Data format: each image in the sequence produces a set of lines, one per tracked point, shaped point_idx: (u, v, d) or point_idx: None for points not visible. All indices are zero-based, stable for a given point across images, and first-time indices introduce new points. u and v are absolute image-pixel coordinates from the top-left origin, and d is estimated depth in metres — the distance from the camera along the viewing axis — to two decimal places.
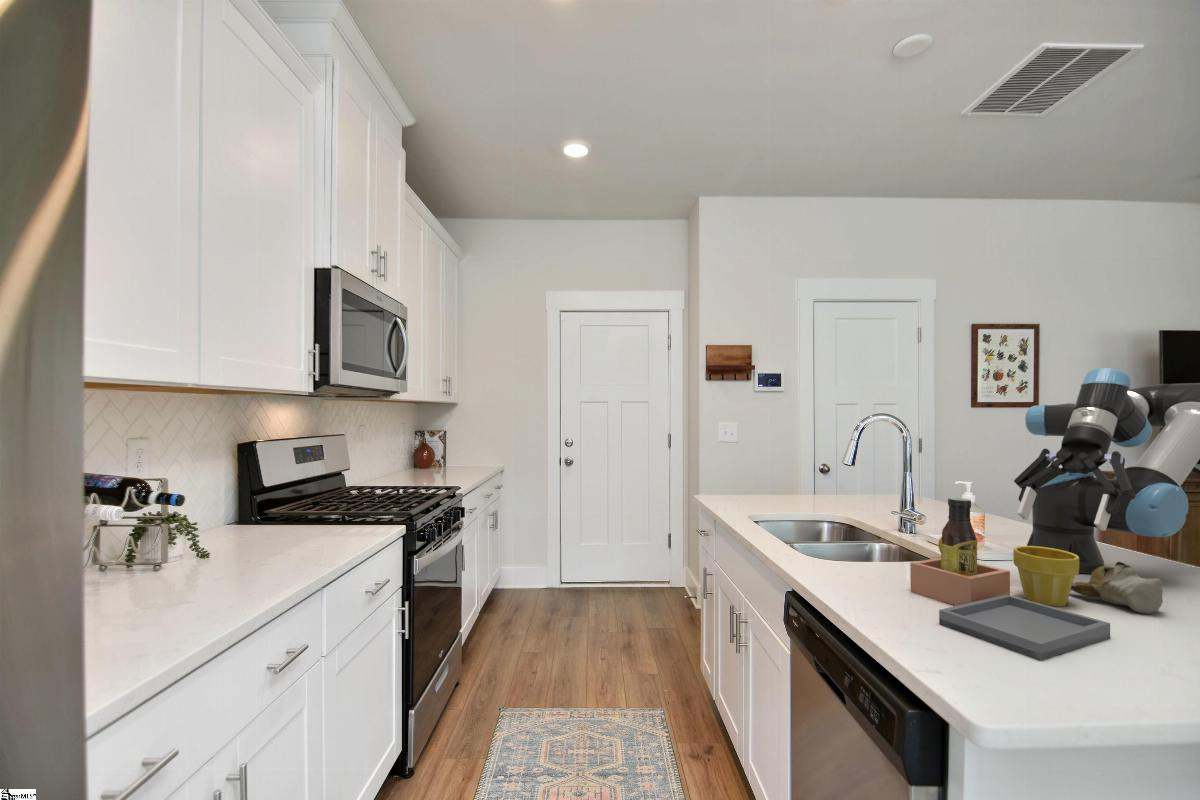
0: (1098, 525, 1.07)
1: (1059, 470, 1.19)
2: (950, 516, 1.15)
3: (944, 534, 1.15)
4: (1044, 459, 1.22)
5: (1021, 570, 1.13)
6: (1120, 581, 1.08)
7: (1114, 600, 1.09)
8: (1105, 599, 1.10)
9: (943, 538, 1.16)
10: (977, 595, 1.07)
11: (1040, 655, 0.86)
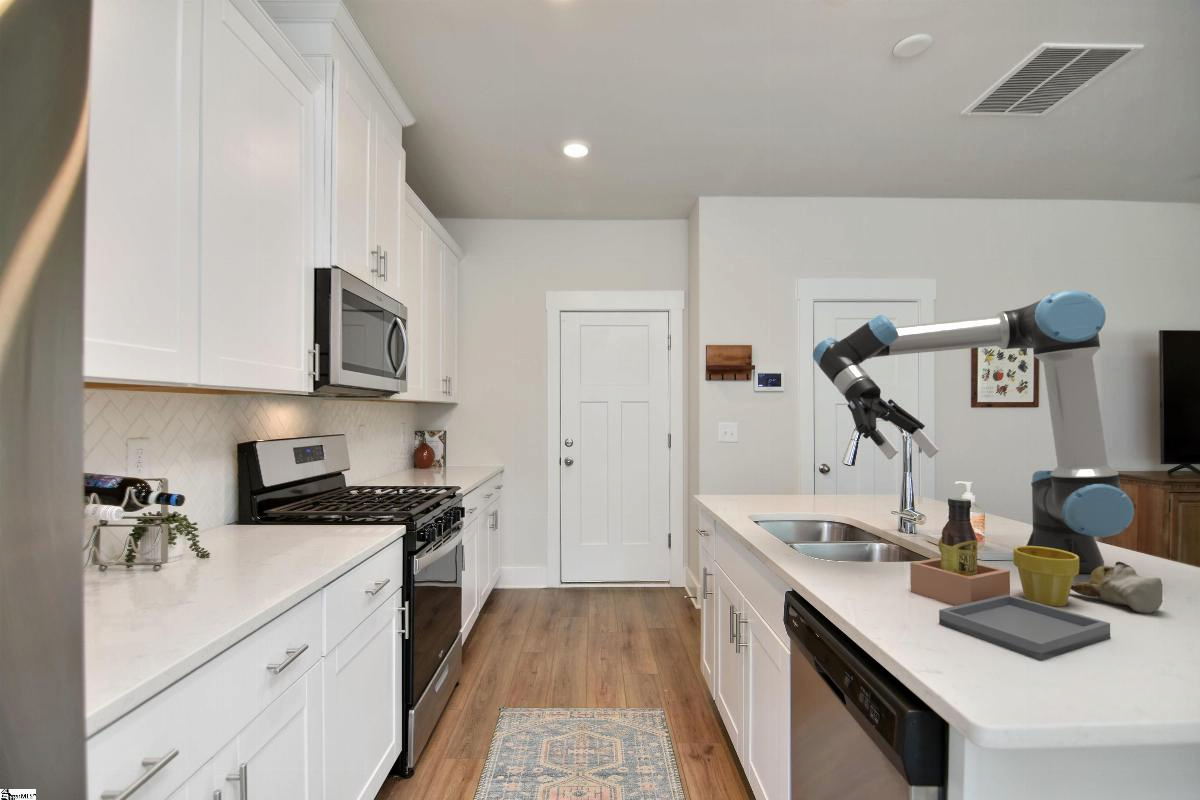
0: (891, 457, 1.22)
1: (890, 415, 1.33)
2: (950, 516, 1.15)
3: (944, 534, 1.15)
4: None
5: (1021, 570, 1.13)
6: (1120, 581, 1.08)
7: (1114, 600, 1.09)
8: (1105, 599, 1.11)
9: (943, 538, 1.16)
10: (977, 595, 1.07)
11: (1040, 655, 0.86)
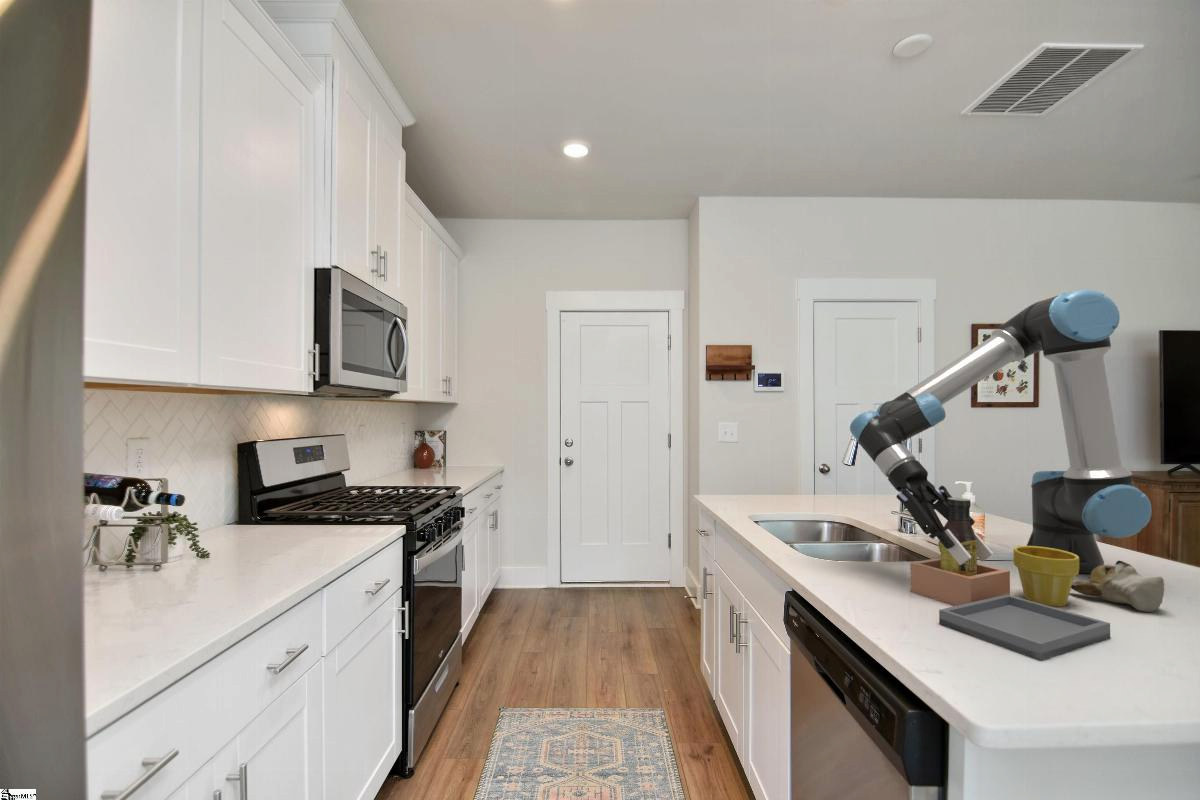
0: (963, 563, 1.11)
1: (936, 503, 1.21)
2: (949, 516, 1.15)
3: None
4: None
5: (1021, 570, 1.13)
6: (1122, 580, 1.08)
7: (1116, 599, 1.10)
8: (1106, 598, 1.11)
9: None
10: (977, 595, 1.07)
11: (1040, 655, 0.86)
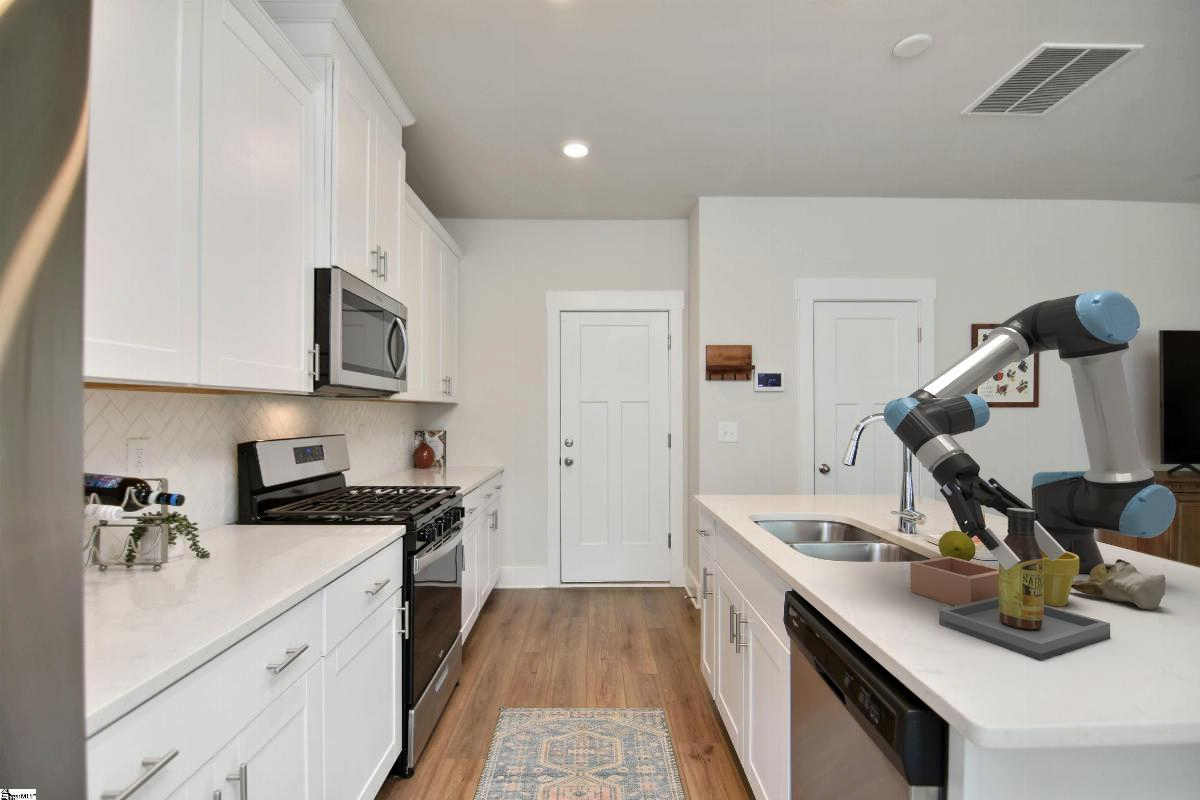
0: (1009, 567, 0.93)
1: (994, 501, 1.04)
2: (1010, 529, 0.98)
3: None
4: (992, 495, 1.07)
5: None
6: (1124, 579, 1.09)
7: (1117, 598, 1.10)
8: (1107, 596, 1.12)
9: None
10: (977, 595, 1.07)
11: (1040, 655, 0.86)
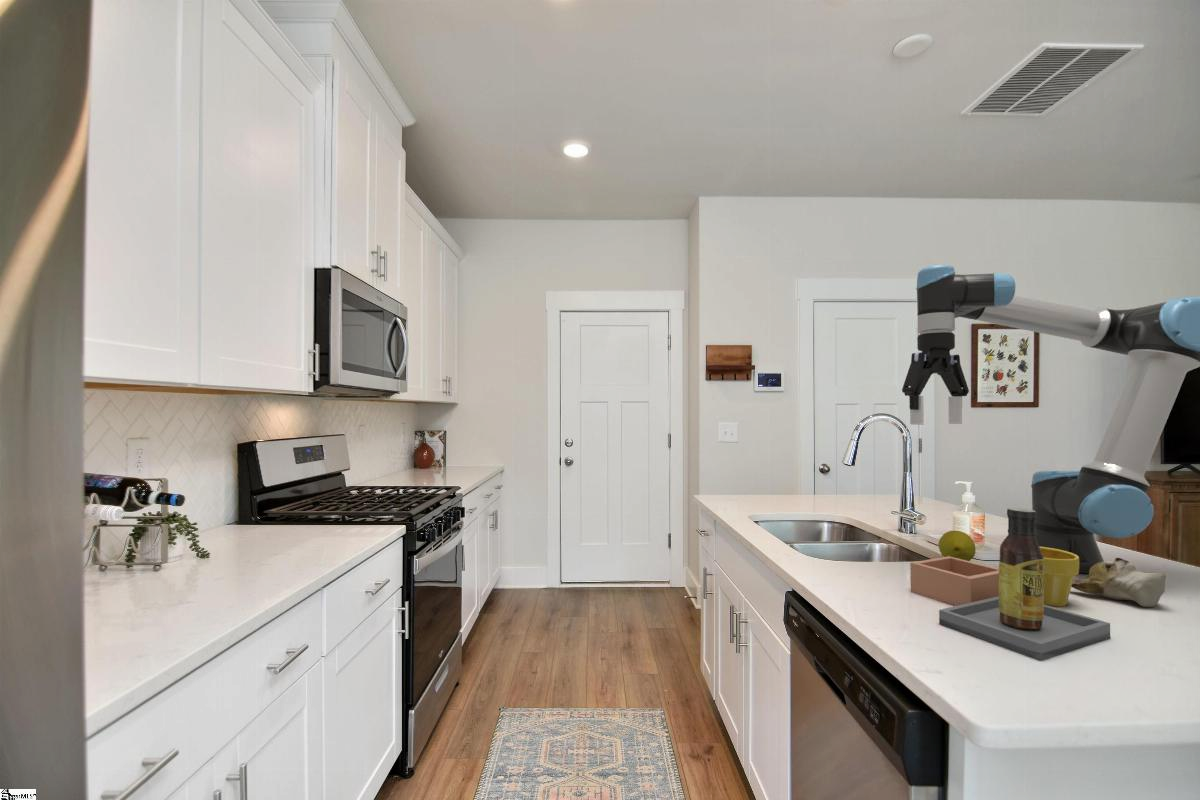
0: None
1: (944, 373, 1.32)
2: (1010, 529, 0.98)
3: (1003, 551, 0.97)
4: None
5: None
6: (1125, 577, 1.10)
7: (1118, 596, 1.11)
8: (1107, 595, 1.13)
9: (1002, 556, 0.98)
10: (977, 595, 1.07)
11: (1040, 655, 0.86)
